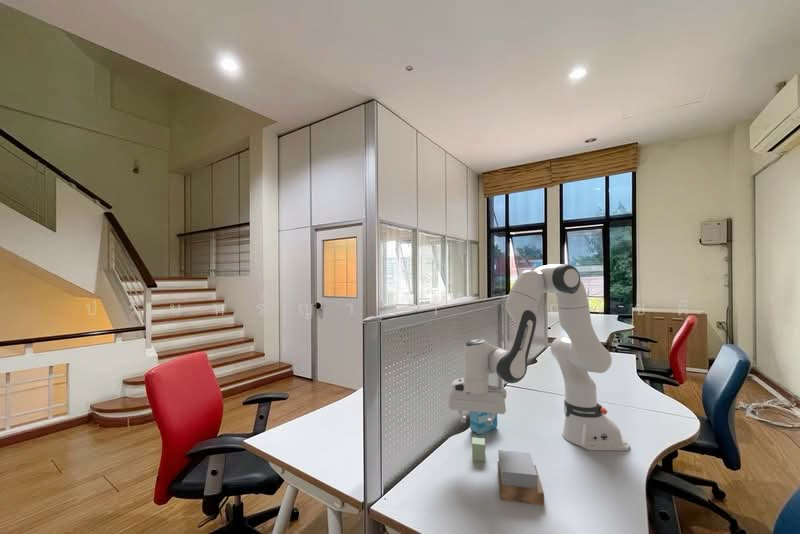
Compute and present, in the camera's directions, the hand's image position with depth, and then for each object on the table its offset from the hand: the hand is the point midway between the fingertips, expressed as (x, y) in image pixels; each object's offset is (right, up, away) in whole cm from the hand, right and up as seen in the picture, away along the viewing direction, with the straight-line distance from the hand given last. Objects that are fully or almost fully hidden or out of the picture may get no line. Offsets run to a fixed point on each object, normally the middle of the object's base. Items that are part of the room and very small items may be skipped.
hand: (476, 423), depth 118 cm
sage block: (+1, -13, 0) cm, 13 cm away
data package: (+8, -13, +21) cm, 26 cm away
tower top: (+9, -8, -16) cm, 20 cm away
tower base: (+9, -12, -17) cm, 23 cm away
